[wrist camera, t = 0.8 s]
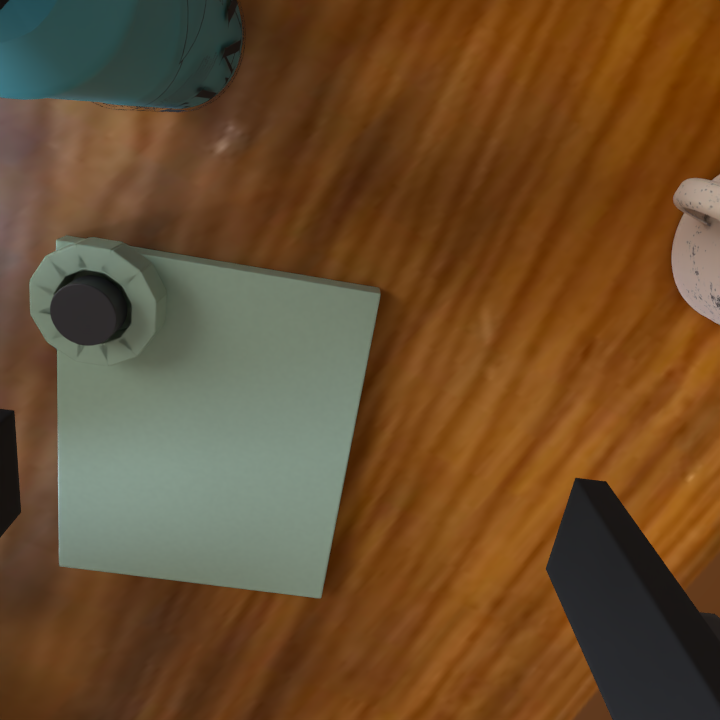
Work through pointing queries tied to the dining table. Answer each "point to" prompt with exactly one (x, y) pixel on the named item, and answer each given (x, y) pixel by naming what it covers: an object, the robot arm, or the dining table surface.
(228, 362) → the scale
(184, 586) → the dining table surface
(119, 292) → the button
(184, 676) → the dining table surface
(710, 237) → the teacup with lid
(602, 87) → the dining table surface
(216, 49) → the beverage bottle
